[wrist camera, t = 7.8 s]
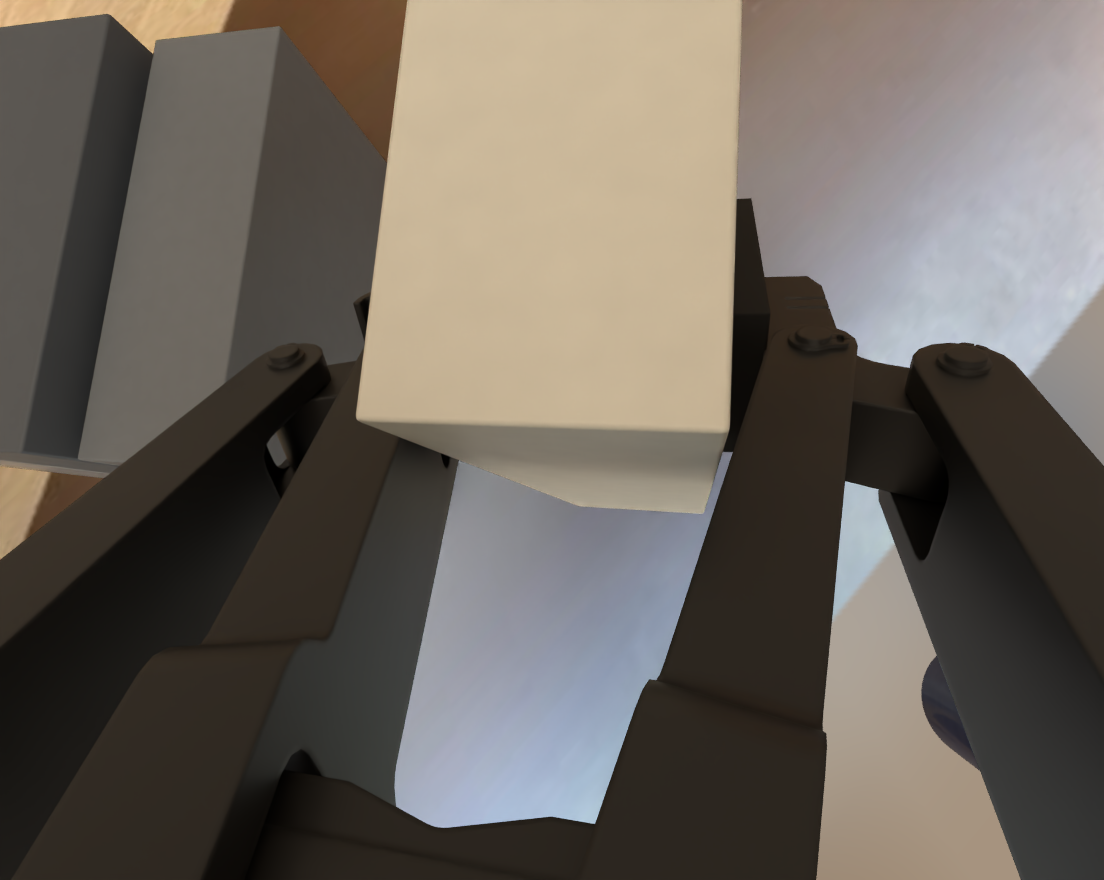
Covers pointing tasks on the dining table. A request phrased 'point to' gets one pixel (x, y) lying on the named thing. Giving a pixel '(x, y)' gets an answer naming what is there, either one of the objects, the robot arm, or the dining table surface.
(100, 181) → the grey books
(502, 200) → the white book
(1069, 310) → the dining table surface
